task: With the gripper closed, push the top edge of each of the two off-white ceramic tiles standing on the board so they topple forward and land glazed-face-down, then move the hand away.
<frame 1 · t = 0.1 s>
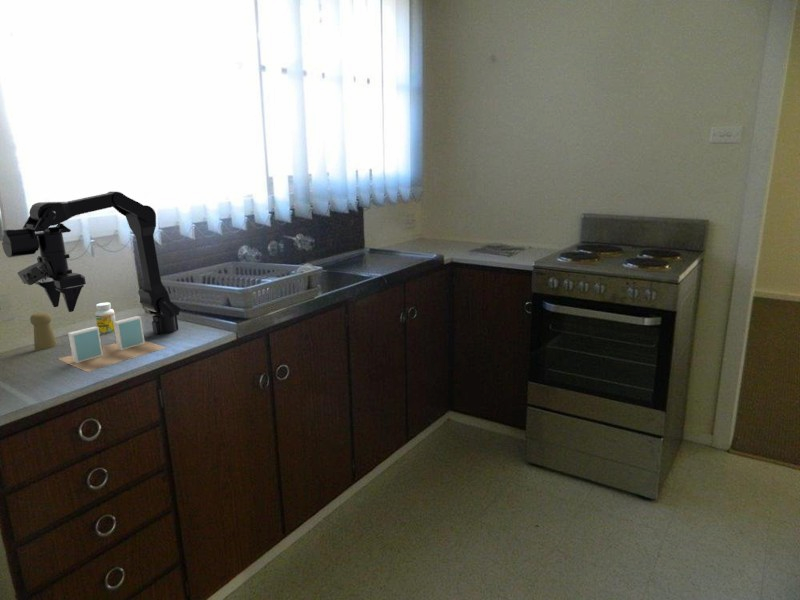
hand: (63, 309, 156), 15 cm above the worktop, tool pointing down, fingers open, 9 cm apart
tile a: (131, 346, 167), point 1 cm above the worktop, touching board
cork: (46, 350, 170), on the worktop
supplement bottle: (108, 334, 184), on the worktop
tile b: (88, 358, 158), point 1 cm above the worktop, touching board
board: (113, 356, 162), on the worktop
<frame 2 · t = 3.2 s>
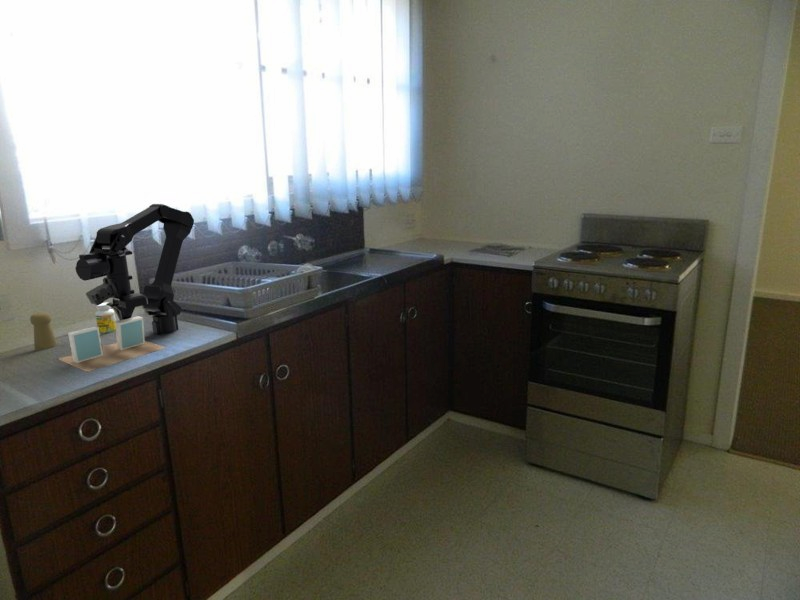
hand: (125, 326, 167), 7 cm above the worktop, tool pointing down, fingers closed
tile a: (131, 345, 167), point 1 cm above the worktop, tilted 8°, touching board, gripper
everything else where it was.
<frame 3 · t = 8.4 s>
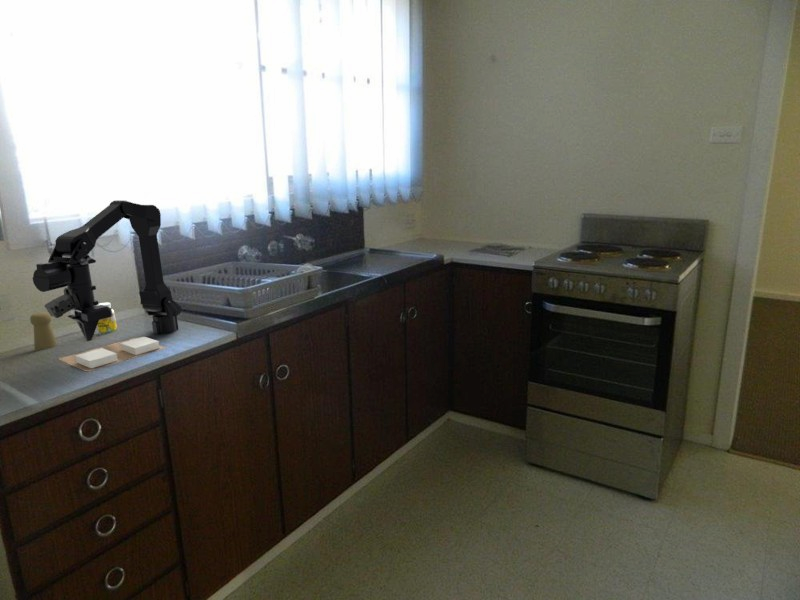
hand: (89, 340, 155), 7 cm above the worktop, tool pointing down, fingers closed
tile a: (132, 343, 166), point 2 cm above the worktop, tilted 90°, touching board
tile b: (89, 355, 157), point 2 cm above the worktop, tilted 90°, touching board
everything else where it was.
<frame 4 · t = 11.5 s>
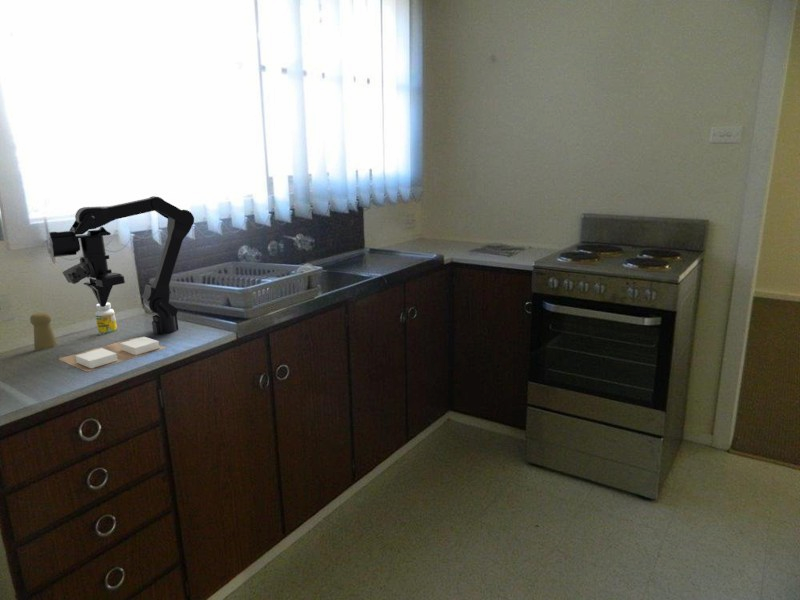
hand: (102, 306, 168), 12 cm above the worktop, tool pointing down, fingers closed
nothing on the worktop moved.
at the end: tile a tilted 90°; tile b tilted 90°; tile a inside the target area (6.2 cm from its centre), point 2.1 cm above the worktop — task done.
